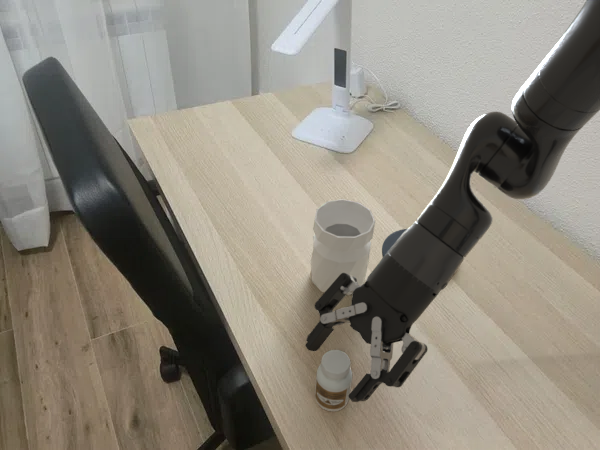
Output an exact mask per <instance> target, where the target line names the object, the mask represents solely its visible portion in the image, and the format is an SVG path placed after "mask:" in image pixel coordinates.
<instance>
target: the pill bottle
mask: <svg viewBox="0 0 600 450" xmlns="http://www.w3.org/2000/svg"><path fill="white" fill-rule="evenodd" d="M352 382H353V371H352V369H351V359H350V357H349V355H348V354H347V353H346V352H345V351H342V350H340V349H331V350H328V351H326V352H324V354H323V355H322V357H321V361H320V364H319V365H318V366H317V370H316V377H315V386H314V387H315V388H314V399H315V402H316V404H317V405H318V406H319V407H320V408H321V409H322V410H325V411H328V412H338V411H341V410H342V409H344V408H345V407H346V406H347V405H348V403H349V400H350V398H349V397H348V396H349V394H350V393H351V388H352Z"/></svg>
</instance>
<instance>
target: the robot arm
mask: <svg viewBox="0 0 600 450" xmlns="http://www.w3.org/2000/svg"><path fill="white" fill-rule="evenodd" d="M599 112H600V0H586V1H585V2H584V3H583V5H582V7H581V8H580V10H579V11H578V13H577V14H576V16H575V17H574V19H572V21H571V22H570V24H569V25H568V27H567V28H566V30H565V31H564V32H563V33H562V35H561V37H560V38H558V41H557V42H555V44H554V45H553V47H552V48H551V49H550V50H549V51H548V53H547V54H546V55H545V56H544V58H543V59H542V61H540V63H539V64H538V66H537V67H536V68H535V70H534V71H533V72H531V75H530V76H529V77H528V78H527V79H526V81H525V82H524V83H523V85H521V87H520V88H519V90H518V91H517V93H516V94H515V96H514V97H513V99H512V103H511V113H512V117H513V118H511V117H510V116H509V115H507V114H506V113H503V112H502V111H490V112H486V113H484V114H482V115H481V116H479V117H477V118H475V120H474V121H472V123H470V126H469V127H468V128H467V130H466V132H465V134H464V135H463V138H462V141H461V143H460V145H459V148H458V151H457V153H456V155H455V158H454V160H453V163H452V165H451V167H450V170H449V172H448V173H447V175H446V178H445V179H444V181H443V183H442V184H441V186H440V188H438V191H437V192H436V194H435V195H434V196H433V198H432V199H431V200H430V201H429V203H428V204H427V205H426V207H424V209H423V210H422V211H421V213H420V214H419V215H418V216H417V218H416V219H415V221H413V223H412V224H411V225H410V226H408V228H406V229H407V230H406V231H405V232H404V233H403V234H402V235H401V236H400V237H399V238H398V240H397V241H396V242H395V243H394V245H393V246H392V247H391V248H390V250H389V251H388V252H387V253H386V255H385V256H384V257H383V256H382V258H381V260H380V261H379V262H378V263H377V265H376V266H375V267H374V268H373V270H372V271H371V272H370V273H369V275H368V276H367V278H366V280H365V281H364V283H363V285H362V286H359V285H358V283H357V279H356V278H355V277H353V276H351V275H349V274H346V273H341V274H340V275H339V277H338V278H337V279H336V280H335V281H334V282H333V283H332V285H331V286H330V287H329V288H328V289H327V290H326V291H325V292H323V293H322V295H321V296H320V297H319V298H318V299H317V300H316V302H314V308H315V310H316V311H317V312H318V315H319V316H320V317H319V321H318V322H317V324H316V325H315V326H314V328H313V329H312V330H311V331H310V332H309V334H308V335H307V337H306V339H305V341H306V343H305V345H304V347H305V348H306V349H307V351H309V352H317V351H319V349H320V348H321V347H322V346H323V344H324V343H325V342H326V341H327V339H328V338H329V337H330V336H331V334H332V333H333V332H334V331H335V329H334V327H338V326H342V325H345V324H346V325H347V324H350V325H349V327H350V328H352V330H353V331H354V332H357V333H358V334H359V335H360V337H361V339H362V340H363V341H364V342H365V343H366V344H368V345H370V349H369V351H370V352H369V356H370V358H371V361H370V373H368V372H367V373H365V375H364V376H363V377H362V378H361V379H360V381H358V383H357V385H355V387H354V388H353V389H352V390H351V391H350V394H349V396H348V397H349V400H350V401H351V402H352V403H359V402H366V401H367V400H369V399H370V397H371V396H372V395H373V394H374V392H375V391H376V390H377V389H378V388H379V387H380V386H381V385H382V384H384V385H386V386H387V387H391V388H392V387H393V388H401V387H402V386H403V385H404V384H405V382H406V381H407V379H408V378H409V377H410V375H411V374H412V373H413V372H414V370H415V369H416V367H417V366H418V365H419V363H420V362H421V361H422V359H423V358H424V356H425V355H426V354H427V352H428V348H429V347H428V346H427V344H425V343H423V342H420V341H419V340H417V339H416V338H415V337H414V336H413V335H412V334H411V333H410V332H411V328H412V326H413V324H415V322H416V321H417V320H419V318H420V317H421V316H422V314H424V312H425V311H426V310H427V308H428V307H429V306H430V305H431V304H432V303H433V301H434V300H435V299H436V298H437V296H438V295H439V294H440V292H442V291H443V290H444V289H445V288H446V287H447V285H448V284H449V282H450V280H451V279H452V278H453V277H454V275H455V274H456V272H457V271H458V269H459V267H460V266H461V264H462V263H463V261H464V260H465V258H466V257H467V256H468V255H469V254H470V252H471V251H472V250H473V249H474V248H475V246H476V245H477V244H478V243H479V241H480V240H481V239H482V238H483V237H484V236H485V235H486V233H487V232H488V230H490V227H491V226H492V224H493V216H492V214H491V212H490V210H489V209H488V208H487V207H486V205H485V204H483V202H482V201H481V200H480V199H479V198H478V197H477V196H476V194H475V193H474V191H473V189H472V185H471V179H472V176H473V174H476V175H478V176H479V177H480V178H482V179H483V180H484V181H486V182H487V183H489V184H490V185H491V186H492V187H494V188H496V189H497V190H498V191H500V192H501V193H502V194H504V195H505V196H506V197H508V198H510V199H513V200H518V201H519V200H522V201H523V200H528V199H531V198H534V197H536V196H537V195H539V194H540V193H541V192H542V191H544V189H545V188H546V187H547V186H548V184H549V183H550V181H551V179H552V177H554V174H555V172H556V170H557V167H558V165H559V163H560V161H561V159H562V157H563V154H564V152H565V151H566V149H567V147H568V146H569V144H570V142H571V141H572V140H573V139H574V137H575V136H576V135H577V134H578V133H579V132H580V130H582V128H584V126H585V125H587V123H588V122H589V121H590V120H591V119H593V118H594V116H596V115H597V114H598V113H599ZM351 293H353V294H351ZM350 294H351V295H352V296H351V304H350V305H349V306H346V307H341V308H339V309H338V308H337V309H335V308H336V307H338V305H339V304H340V303H341V302H342V300H343V299H344V298H345V297H346V296H350ZM334 309H335V310H334ZM333 310H334V311H333ZM398 342H402V346H401V353H402V354H401V355H400V357H399V358H398V359H397V360H396V362H395V363H394V365H393V366H392V367H391V360H392V359H393V356H394V355H393V354H394V343H398Z"/></svg>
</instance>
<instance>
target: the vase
mask: <svg viewBox="0 0 600 450" xmlns="http://www.w3.org/2000/svg"><path fill="white" fill-rule="evenodd" d="M312 226H313V227H312V231H313V233H314V235H313V236H312V240H313V243H312V252H311V258H310V274H311V276H310V277H311V279H310V280H311V282H312V283H313V285H314V286H315V287H316V288H317V289H318V290H319V291H320V292H323V293H325V291H326V290H327V289H328V288H329V287H330V286H331V285H332V283H333V282H334V281H335V280H336V279H337V278H338V277H339V275H340V274H341V273H346V274H349V275H351V276H353V277H355V278H356V279H357V283H358V285H359V286H362V285H363V284H364V283H365V281H366V280H365V279H366V276H367V271H368V268H369V267H368V266H369V262H370V261H369V260H370V255H371V247H372V246H371V245H372V242H371V241H372V239H373V237H374V232H375V226H376V220H375V216H374V214H373V212H372V209H370V208H369V207H367V206H366V205H364V204H363V203H361V202H359V201H355V200H350V199H347V198H340V199H334V200H333V199H332V200H327V201H325V202H324V203H323V204H322V205H320V206H319V207H318V208H316V209H315V215H314V221H313V225H312ZM352 294H353V293H351V294H350V295H352ZM350 295H349V296H350Z"/></svg>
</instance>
